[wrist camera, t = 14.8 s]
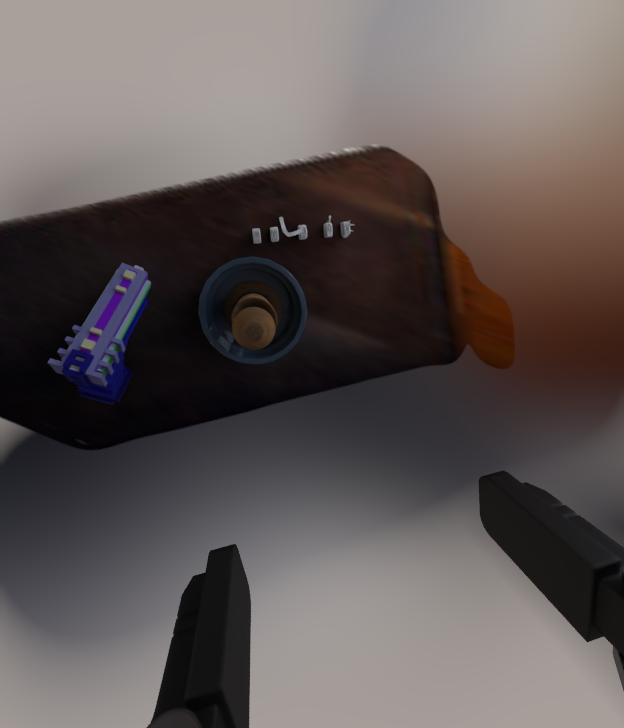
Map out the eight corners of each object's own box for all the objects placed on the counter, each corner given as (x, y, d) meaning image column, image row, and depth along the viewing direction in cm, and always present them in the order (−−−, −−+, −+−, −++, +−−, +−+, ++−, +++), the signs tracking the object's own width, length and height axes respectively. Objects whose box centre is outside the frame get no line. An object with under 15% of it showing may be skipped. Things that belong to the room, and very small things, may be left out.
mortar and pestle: (285, 330, 40) (309, 368, 23) (233, 340, 39) (217, 388, 22) (274, 276, 38) (292, 272, 21) (219, 285, 37) (191, 290, 20)
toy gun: (75, 398, 35) (42, 365, 27) (128, 303, 41) (116, 250, 33) (115, 409, 36) (97, 380, 28) (162, 314, 42) (158, 267, 34)
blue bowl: (219, 361, 40) (213, 373, 35) (195, 268, 37) (185, 267, 32) (306, 343, 42) (314, 353, 36) (290, 253, 38) (296, 248, 33)
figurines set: (254, 245, 38) (254, 243, 35) (250, 219, 37) (250, 214, 34) (353, 237, 39) (360, 234, 37) (351, 212, 38) (359, 207, 36)
